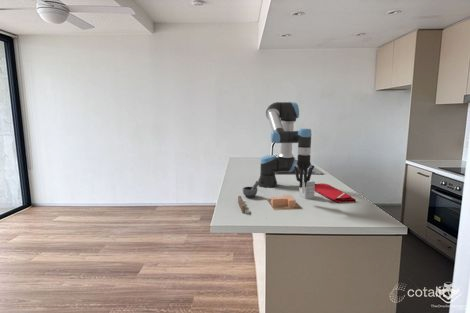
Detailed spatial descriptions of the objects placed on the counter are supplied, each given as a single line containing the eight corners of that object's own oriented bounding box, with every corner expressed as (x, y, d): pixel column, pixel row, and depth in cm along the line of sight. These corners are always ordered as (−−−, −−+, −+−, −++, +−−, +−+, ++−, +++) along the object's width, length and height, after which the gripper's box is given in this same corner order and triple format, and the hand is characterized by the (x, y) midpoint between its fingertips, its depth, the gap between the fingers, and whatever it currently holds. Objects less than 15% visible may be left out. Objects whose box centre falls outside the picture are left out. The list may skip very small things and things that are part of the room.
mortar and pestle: (242, 200, 191) (242, 182, 189) (242, 196, 200) (242, 179, 198) (259, 200, 190) (259, 182, 188) (259, 196, 199) (259, 179, 197)
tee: (269, 201, 184) (270, 195, 183) (289, 201, 185) (290, 195, 184) (274, 207, 173) (274, 201, 172) (295, 206, 174) (295, 200, 174)
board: (238, 202, 186) (238, 195, 185) (292, 200, 190) (292, 194, 189) (242, 213, 166) (242, 205, 166) (302, 211, 170) (303, 203, 170)
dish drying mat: (327, 186, 228) (327, 182, 228) (356, 202, 188) (356, 197, 188) (308, 187, 226) (308, 182, 225) (333, 203, 186) (334, 198, 185)
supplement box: (298, 197, 197) (299, 179, 195) (307, 196, 200) (308, 178, 198) (304, 200, 190) (305, 181, 188) (314, 199, 193) (315, 180, 191)
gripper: (295, 155, 171) (294, 194, 174) (316, 155, 173) (315, 193, 176) (291, 153, 179) (290, 191, 182) (312, 153, 180) (310, 190, 183)
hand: (302, 192), depth 179 cm, fingers closed
